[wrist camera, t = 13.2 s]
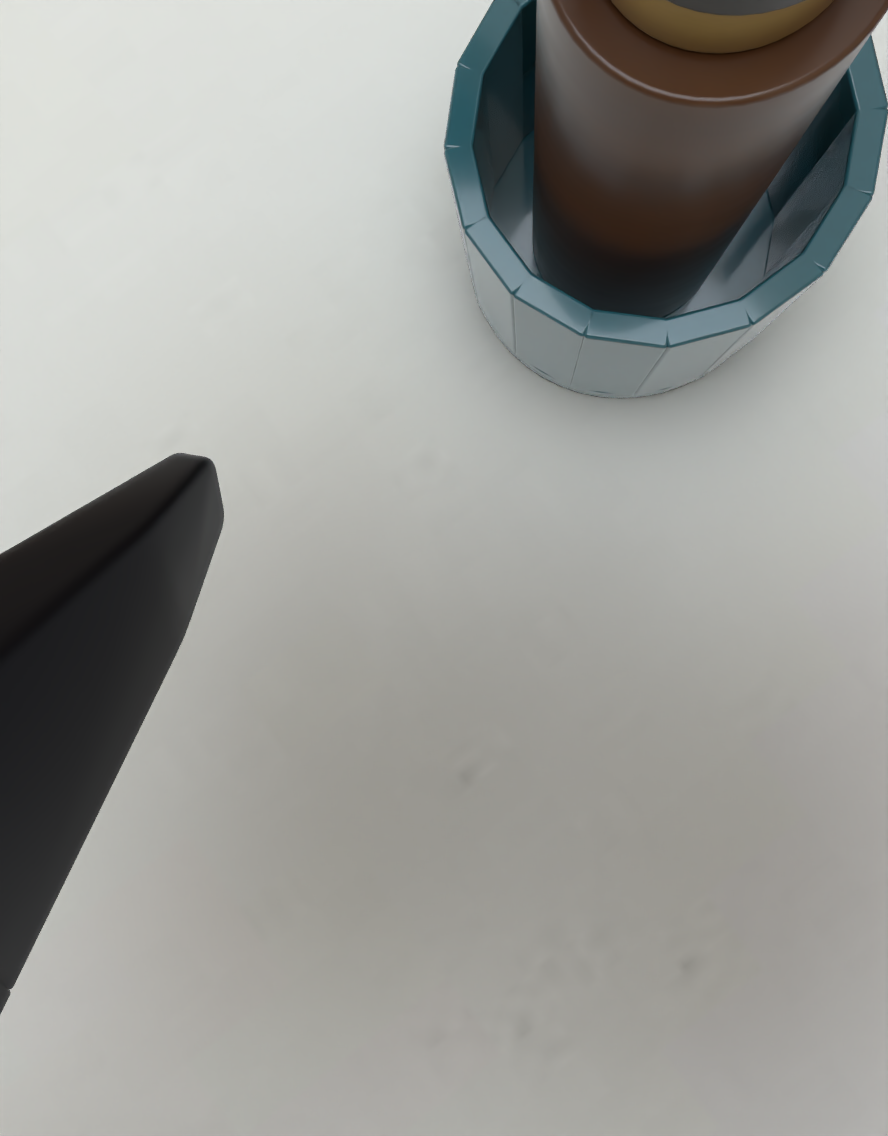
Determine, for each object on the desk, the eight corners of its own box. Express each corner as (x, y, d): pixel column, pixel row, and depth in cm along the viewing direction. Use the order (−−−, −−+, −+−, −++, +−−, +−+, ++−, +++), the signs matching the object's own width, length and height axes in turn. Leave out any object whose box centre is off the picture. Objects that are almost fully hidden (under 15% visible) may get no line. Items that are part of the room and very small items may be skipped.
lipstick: (739, 298, 18) (1246, -288, 5) (556, 347, 18) (621, -88, 6) (695, 116, 17) (1100, -907, 5) (513, 169, 18) (483, -661, 6)
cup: (819, 352, 18) (931, 279, 13) (508, 432, 19) (501, 392, 14) (744, 41, 18) (828, -152, 13) (436, 134, 19) (403, -15, 14)
